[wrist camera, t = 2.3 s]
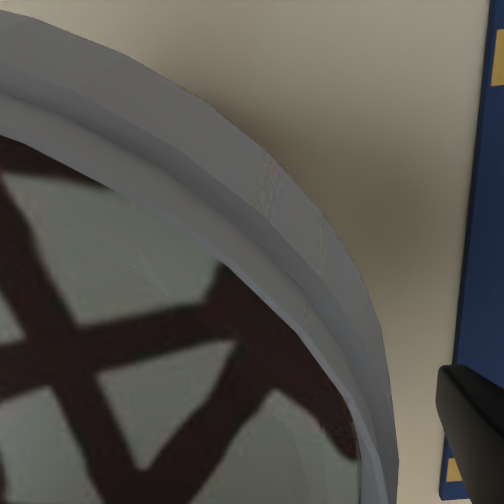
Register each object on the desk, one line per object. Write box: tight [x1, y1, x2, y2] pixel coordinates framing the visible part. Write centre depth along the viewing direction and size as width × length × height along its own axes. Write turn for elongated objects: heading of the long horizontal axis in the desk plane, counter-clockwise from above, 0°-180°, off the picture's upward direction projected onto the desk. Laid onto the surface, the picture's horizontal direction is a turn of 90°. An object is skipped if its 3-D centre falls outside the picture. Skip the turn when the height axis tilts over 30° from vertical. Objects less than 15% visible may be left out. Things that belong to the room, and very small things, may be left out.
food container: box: [0, 10, 399, 504], centre depth 10 cm, size 12×6×10 cm, turn 172°
